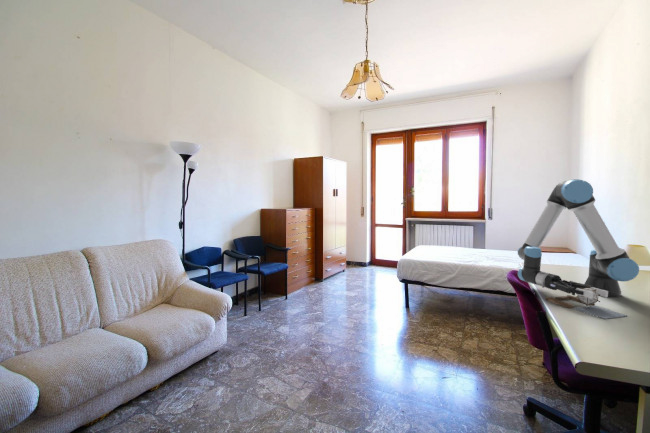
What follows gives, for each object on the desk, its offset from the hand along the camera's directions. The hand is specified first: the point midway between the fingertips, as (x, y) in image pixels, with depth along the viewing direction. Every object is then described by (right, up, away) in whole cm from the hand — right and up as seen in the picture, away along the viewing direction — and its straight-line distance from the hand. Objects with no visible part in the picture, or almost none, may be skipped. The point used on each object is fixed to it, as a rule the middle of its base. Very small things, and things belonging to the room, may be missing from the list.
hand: (600, 294), depth 132 cm
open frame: (-3, -7, +13) cm, 15 cm away
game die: (-1, -6, +5) cm, 8 cm away
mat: (0, -8, +1) cm, 8 cm away
